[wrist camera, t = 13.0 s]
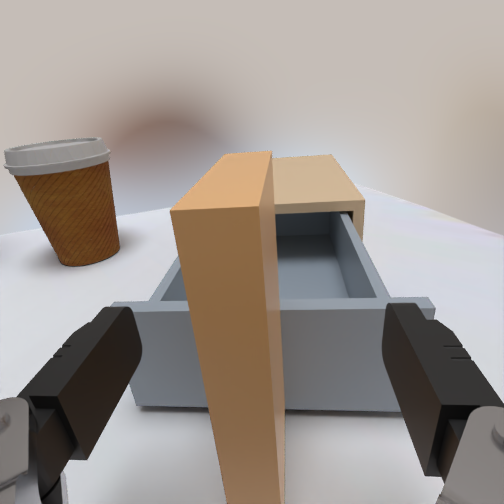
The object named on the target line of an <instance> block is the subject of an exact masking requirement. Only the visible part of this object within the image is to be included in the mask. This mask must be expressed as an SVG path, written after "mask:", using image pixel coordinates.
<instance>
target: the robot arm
mask: <svg viewBox="0 0 504 504" xmlns="http://www.w3.org/2000/svg"><path fill="white" fill-rule="evenodd" d="M141 357H142V342H141V338H140V335H139V331H138V328H137V324H136V321H135V317H134V314H133V311H132V309H131V308H130V307H128V306H122V307H104V308H103V309H102V310H101V311H100V312H99V313H98V314H97V316H96V317H95V318H94V319H93V320H92V322H88V323H87V324H85V325H84V326H83V327H81V328H80V329H78V330H77V331H75V332H74V333H73V334H72V335H71V336H70V337H69V338H68V339H67V340H66V342H65V343H64V344H63V345H62V348H59V349H58V351H57V352H56V353H55V354H54V355H53V358H50V360H49V361H48V362H47V363H46V364H45V365H44V366H43V367H42V369H41V370H40V371H39V372H38V373H37V374H36V375H35V377H34V378H33V379H32V380H31V381H30V382H29V383H28V384H27V386H26V387H25V388H24V389H23V390H22V391H21V392H20V393H19V395H18V396H17V397H12V398H7V399H3V400H0V504H68V494H67V483H66V476H65V473H64V471H63V469H64V467H65V466H66V464H67V462H68V461H69V460H87V459H88V458H89V456H90V454H91V452H92V450H93V448H94V446H95V445H96V443H97V441H98V439H99V437H100V435H101V434H102V432H103V430H104V428H105V426H106V424H107V422H108V421H109V419H110V417H111V415H112V413H113V411H114V409H115V408H116V406H117V404H118V402H119V400H120V398H121V397H122V395H123V393H124V391H125V389H126V387H127V385H128V384H129V382H130V380H131V378H132V376H133V374H134V373H135V371H136V369H137V367H138V365H139V363H140V361H141ZM382 357H383V362H384V366H385V368H386V371H387V374H388V377H389V379H390V382H391V385H392V387H393V390H394V393H395V396H396V398H397V401H398V404H399V407H400V409H401V412H402V415H403V417H404V420H405V423H406V426H407V428H408V431H409V434H410V437H411V439H412V442H413V445H414V448H415V450H416V453H417V456H418V458H419V461H420V464H421V467H422V469H423V472H424V475H425V476H433V477H442V479H443V482H444V487H443V490H442V492H441V494H440V495H439V497H438V499H437V502H436V504H504V403H503V402H502V401H501V399H500V398H499V396H498V395H497V394H496V392H495V391H494V389H493V388H492V386H491V385H490V384H489V382H488V381H487V379H486V378H485V377H484V375H483V374H482V372H481V371H480V369H479V368H478V367H477V365H476V364H475V362H474V361H472V360H471V357H470V355H469V354H468V352H467V351H466V350H465V348H463V345H462V344H461V343H460V341H459V340H458V338H457V337H456V335H455V334H454V333H453V331H451V330H450V329H449V328H447V327H446V326H445V325H443V324H442V323H440V322H439V321H438V320H427V319H426V318H425V316H424V315H423V313H422V311H421V310H420V308H419V307H418V305H417V304H416V303H387V305H386V309H385V318H384V327H383V336H382Z"/></svg>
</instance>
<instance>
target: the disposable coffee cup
mask: <svg viewBox="0 0 504 504" xmlns="http://www.w3.org/2000/svg"><path fill="white" fill-rule="evenodd" d="M4 152H5V159H6V164H4V167H5V168H6V169H8V170H9V172H10V174H12V175H14V177H15V179H16V180H17V182H18V184H19V186H20V188H21V190H22V192H23V193H24V196H25V197H26V199H27V201H28V203H29V204H30V206H31V208H32V210H33V212H34V214H35V216H36V217H37V219H38V221H39V223H40V225H41V227H42V228H43V231H44V232H45V234H46V236H47V238H48V239H49V241H50V243H51V245H52V247H53V249H54V251H55V252H56V254H57V256H58V258H59V260H60V262H61V263H62V264H64V265H67V266H83V265H87V264H92V263H96V262H99V261H102V260H104V259H106V258H109V257H111V256H112V255H114V254H115V253H116V252H118V250H119V249H120V245H119V238H118V230H117V222H116V215H115V206H114V200H113V193H112V185H111V178H110V170H109V163H108V160H109V159H110V158H109V154H110V150H109V149H107V148H106V145H105V143H104V141H103V139H102V138H79V139H69V140H59V141H51V142H43V143H36V144H30V145H24V146H18V147H14V148H9V149H6V150H5V151H4Z"/></svg>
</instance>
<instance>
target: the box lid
mask: <svg viewBox="0 0 504 504" xmlns="http://www.w3.org/2000/svg"><path fill="white" fill-rule="evenodd" d="M272 166H273V185H274V204H275V214H289V213H311V212H332V211H347V213H348V215H349V217H350V219H351V221H352V223H353V225H354V227H355V229H356V231H357V233H358V235H359V237H360V239H361V241H362V239H363V225H364V210H365V199H364V197H363V196H362V195H361V193H360V192H359V191H358V189H357V188H356V187H355V185H354V184H353V183H352V181H351V180H350V179H349V177H348V176H347V175H346V173H345V172H344V171H343V169H342V168H341V166H340V165H339V164H338V163H337V161H336V160H335V158H334V157H333V156H332V155H318V156H302V157H286V158H272Z"/></svg>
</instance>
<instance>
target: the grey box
mask: <svg viewBox="0 0 504 504" xmlns="http://www.w3.org/2000/svg"><path fill="white" fill-rule="evenodd" d="M170 214H171V220H172V225H173V230H174V235H175V240H176V245H177V250H178V257H177V258H176V260H175V261H174V263H173V264H172V266H171V267H170V269H169V271H168V272H167V274H166V275H165V277H164V278H163V280H162V281H161V283H160V284H159V286H158V287H157V289H156V290H155V292H154V293H153V295H152V296H151V298H150V300H149V301H139V302H114V303H113V304H112V305H111V306H110V307H122V306H128V307H130V308H131V309H132V311H133V314H134V317H135V321H136V324H137V328H138V331H139V335H140V338H141V342H142V357H141V361H140V363H139V365H138V367H137V369H136V371H135V373H134V374H133V376H132V378H131V380H130V382H129V384H130V387H131V390H132V393H133V396H134V399H135V402H136V405H137V406H176V407H208V408H209V414H210V419H211V424H212V429H213V434H214V439H215V444H216V449H217V454H218V459H219V465H220V470H221V475H222V480H223V485H224V490H225V495H226V500H227V504H285V409H305V410H348V411H391V412H401V409H400V407H399V404H398V401H397V398H396V396H395V393H394V390H393V387H392V385H391V382H390V379H389V377H388V374H387V371H386V368H385V366H384V362H383V357H382V336H383V327H384V318H385V309H386V305H387V303H416V304H417V305H418V307H419V308H420V310H421V311H422V313H423V315H424V316H425V318H426V319H427V320H434V315H435V309H436V308H435V306H434V305H433V304H432V302H431V301H430V299H429V298H428V297H398V298H391V297H390V295H389V293H388V291H387V289H386V287H385V285H384V283H383V282H382V280H381V278H380V276H379V274H378V272H377V270H376V268H375V266H374V264H373V262H372V260H371V258H370V256H369V254H368V252H367V250H366V248H365V246H364V244H363V243H362V241H361V239H360V237H359V235H358V233H357V231H356V229H355V227H354V225H353V223H352V221H351V219H350V217H349V215H348V213H347V211H332V212H311V213H289V214H275V204H274V185H273V166H272V151H262V152H247V153H233V154H224V156H223V157H222V158H221V159H220V160H219V161H218V162H217V163H216V164H215V165H214V166H213V167H212V168H211V169H210V170H209V171H208V172H207V173H206V174H205V175H204V176H203V177H202V178H201V179H200V180H199V181H198V182H197V183H196V184H195V185H194V186H193V187H192V188H191V189H190V190H189V191H188V192H187V193H186V194H185V195H184V197H182V199H181V200H179V202H178V203H177V204H176V205H175V206H174V207H173V208H172V209H171V210H170Z"/></svg>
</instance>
